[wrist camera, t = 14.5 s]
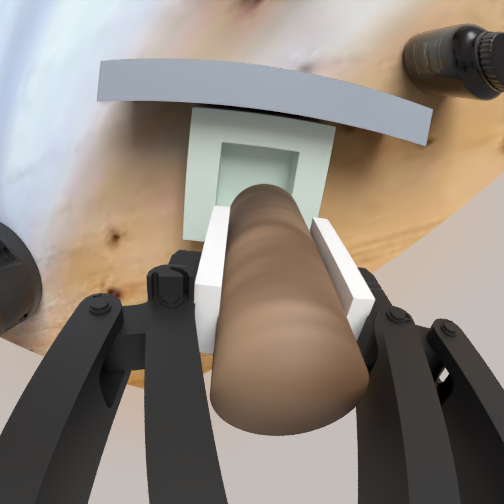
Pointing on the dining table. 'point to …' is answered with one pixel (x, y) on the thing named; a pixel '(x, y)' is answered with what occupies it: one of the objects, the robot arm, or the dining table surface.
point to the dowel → (280, 325)
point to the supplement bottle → (457, 62)
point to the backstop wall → (263, 93)
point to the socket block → (252, 161)
